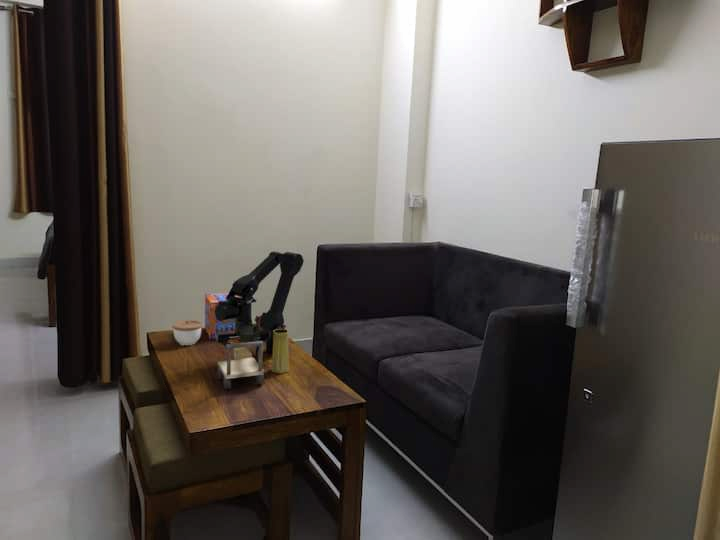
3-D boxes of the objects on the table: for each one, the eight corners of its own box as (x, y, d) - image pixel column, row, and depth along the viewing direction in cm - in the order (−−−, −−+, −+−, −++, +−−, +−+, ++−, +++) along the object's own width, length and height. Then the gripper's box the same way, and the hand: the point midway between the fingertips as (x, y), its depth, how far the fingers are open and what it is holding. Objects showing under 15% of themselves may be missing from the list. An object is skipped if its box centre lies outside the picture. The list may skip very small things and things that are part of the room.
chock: (244, 358, 197) (244, 346, 196) (251, 365, 190) (251, 353, 189) (234, 360, 195) (234, 348, 194) (240, 367, 188) (240, 355, 187)
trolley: (253, 372, 184) (253, 330, 181) (263, 386, 172) (264, 341, 170) (217, 376, 179) (217, 333, 176) (226, 391, 167) (226, 345, 164)
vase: (292, 370, 187) (293, 331, 184) (278, 374, 182) (279, 334, 180) (281, 365, 191) (282, 327, 188) (267, 369, 187) (268, 330, 184)
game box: (204, 329, 230) (204, 293, 227) (241, 326, 236) (241, 292, 233) (210, 340, 216) (209, 302, 213) (248, 336, 222) (248, 300, 219)
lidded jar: (181, 338, 217) (180, 315, 215) (206, 340, 215) (206, 317, 214) (168, 346, 206) (167, 322, 205) (194, 348, 205) (194, 325, 203)
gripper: (221, 324, 178) (221, 368, 181) (275, 319, 187) (274, 362, 189) (214, 315, 188) (214, 357, 191) (266, 311, 196) (265, 352, 199)
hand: (242, 357), depth 192 cm, fingers open, 9 cm apart
